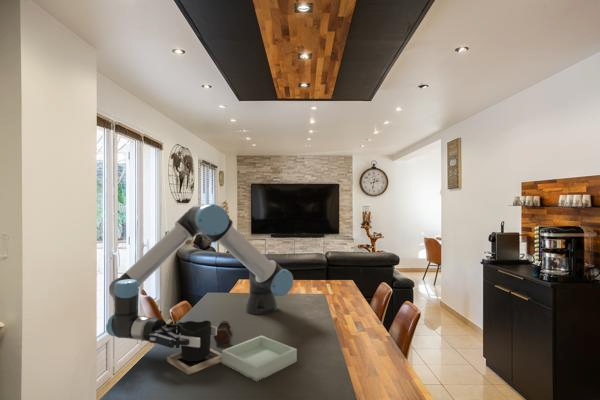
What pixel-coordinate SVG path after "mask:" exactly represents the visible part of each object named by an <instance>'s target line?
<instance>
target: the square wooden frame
mask: <svg viewBox="0 0 600 400" xmlns="http://www.w3.org/2000/svg"><path fill="white" fill-rule="evenodd" d="M221 354H222V352H221V353H220V352H219V351H217V350H215V349H212V348H211V347H210V353H209V355H208V356H211V357H212V358H210V359H207V360H204V361H202V362H199V363H197V364H194V365H193V366H189V365H187V364H185V363H184V362H182V361H181V360H180V359H183V358H182V351H179V352H176V353H173V354H171V355H169V356H166V362H167V363H169V364H170V365H172V366H174V367H175V368H177V369H178V370H180V371H182V372H183V373H184V374H186V375H188V376H189V375H192V374H195V373H197V372H200V371H201V370H203V369H206V368H208V367H211V366H215V365H216V364H218V363H221Z"/></svg>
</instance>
